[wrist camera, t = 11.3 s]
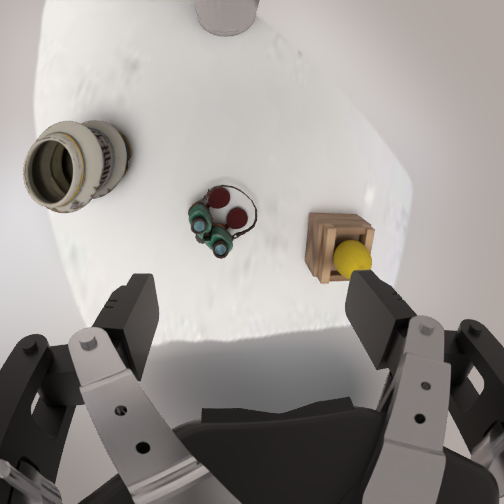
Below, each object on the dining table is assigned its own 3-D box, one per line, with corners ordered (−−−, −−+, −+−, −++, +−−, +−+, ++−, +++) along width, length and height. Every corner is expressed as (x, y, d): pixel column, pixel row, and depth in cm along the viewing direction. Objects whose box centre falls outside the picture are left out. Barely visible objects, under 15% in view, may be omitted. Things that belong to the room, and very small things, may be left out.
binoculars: (275, 227, 38) (218, 273, 39) (260, 211, 48) (215, 249, 49) (232, 175, 35) (173, 226, 36) (226, 170, 45) (180, 210, 46)
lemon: (365, 243, 44) (386, 262, 36) (347, 271, 45) (364, 294, 38) (339, 227, 43) (358, 244, 35) (321, 257, 44) (335, 279, 37)
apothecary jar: (132, 195, 44) (84, 230, 28) (74, 187, 42) (12, 216, 26) (143, 124, 40) (94, 120, 23) (81, 120, 38) (16, 120, 21)
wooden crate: (309, 212, 48) (324, 228, 40) (356, 214, 48) (377, 229, 41) (304, 261, 51) (317, 283, 43) (349, 260, 52) (368, 281, 44)
